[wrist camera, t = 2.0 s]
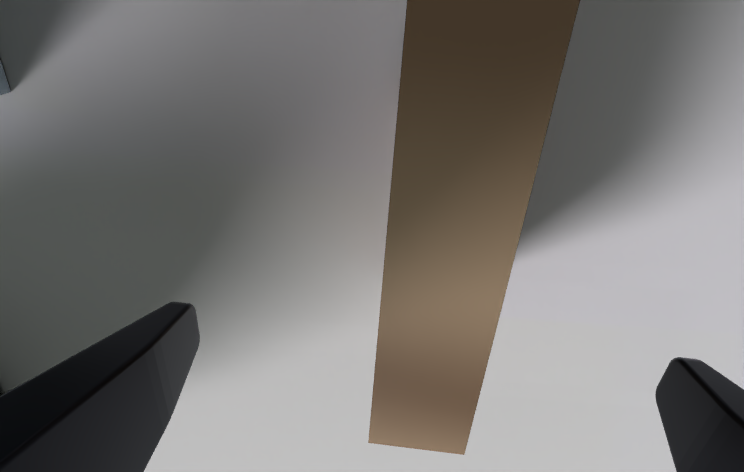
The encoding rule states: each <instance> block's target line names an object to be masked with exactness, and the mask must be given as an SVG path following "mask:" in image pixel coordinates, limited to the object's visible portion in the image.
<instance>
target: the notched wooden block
mask: <svg viewBox="0 0 744 472" xmlns="http://www.w3.org/2000/svg"><path fill="white" fill-rule="evenodd" d="M579 2H580V0H407V10H406V21H405V33H404V44H403V55H402V67H401V78H400V89H399V101H398V112H397V124H396V135H395V146H394V158H393V169H392V180H391V192H390V203H389V214H388V226H387V237H386V249H385V260H384V271H383V283H382V294H381V305H380V317H379V328H378V339H377V351H376V362H375V373H374V385H373V396H372V408H371V419H370V430H369V442H368V443H374V444H382V445H390V446H398V447H406V448H414V449H422V450H430V451H439V452H447V453H455V454H463V455H464V454H465V450H466V446H467V442H468V438H469V434H470V430H471V426H472V422H473V418H474V414H475V410H476V406H477V403H478V399H479V395H480V391H481V387H482V383H483V379H484V375H485V371H486V367H487V363H488V359H489V355H490V351H491V348H492V344H493V340H494V336H495V332H496V328H497V324H498V320H499V316H500V312H501V308H502V304H503V300H504V297H505V293H506V289H507V285H508V281H509V277H510V273H511V269H512V265H513V261H514V257H515V253H516V249H517V245H518V242H519V238H520V234H521V230H522V226H523V222H524V218H525V214H526V210H527V206H528V202H529V198H530V194H531V191H532V187H533V183H534V179H535V175H536V171H537V167H538V163H539V159H540V155H541V151H542V147H543V143H544V139H545V136H546V132H547V128H548V124H549V120H550V116H551V112H552V108H553V104H554V100H555V96H556V92H557V88H558V84H559V81H560V77H561V73H562V69H563V65H564V61H565V57H566V53H567V49H568V45H569V41H570V37H571V33H572V30H573V26H574V22H575V18H576V14H577V10H578V6H579Z"/></svg>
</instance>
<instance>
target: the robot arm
mask: <svg viewBox="0 0 744 472" xmlns="http://www.w3.org/2000/svg"><path fill="white" fill-rule="evenodd" d="M199 341H200V335H199V329H198V323H197V317H196V311H195V308H194V306H193V305H192V304H190V303H182V302H170V303H168V304H166V305H164V306H162V307H161V308H159V309H157V310H155V311H153V312H152V313H150V314H148V315H146V316H144V317H143V318H141V319H139V320H137V321H135V322H134V323H132V324H130V325H128V326H126V327H125V328H123V329H121V330H119V331H117V332H115V333H114V334H112V335H110V336H108V337H106V338H105V339H103V340H101V341H99V342H97V343H96V344H94V345H92V346H90V347H88V348H87V349H85V350H83V351H81V352H79V353H78V354H76V355H74V356H72V357H70V358H69V359H67V360H65V361H63V362H61V363H59V364H58V365H56V366H54V367H52V368H50V369H49V370H47V371H45V372H43V373H41V374H40V375H38V376H36V377H34V378H32V379H31V380H29V381H27V382H25V383H23V384H22V385H20V386H18V387H16V388H14V389H13V390H11V391H9V392H7V393H5V394H3V395H2V396H1V395H0V472H144V470H145V468H146V466H147V464H148V462H149V460H150V458H151V456H152V454H153V452H154V450H155V448H156V447H157V445H158V443H159V441H160V439H161V437H162V435H163V433H164V431H165V429H166V427H167V425H168V423H169V421H170V419H171V416H172V414H173V411H174V409H175V406H176V404H177V401H178V399H179V396H180V393H181V391H182V388H183V386H184V383H185V380H186V378H187V375H188V373H189V370H190V368H191V365H192V362H193V360H194V357H195V355H196V352H197V349H198V346H199ZM656 402H657V406H658V409H659V413H660V416H661V420H662V423H663V427H664V430H665V433H666V437H667V440H668V444H669V447H670V451H671V454H672V458H673V461H674V464H675V468H676V471H677V472H744V390H743V389H742V388H740V387H739V386H738V385H736V384H735V383H733V382H732V381H730V380H729V379H727V378H726V377H724V376H723V375H722V374H720V373H719V372H717V371H716V370H714V369H713V368H711V367H710V366H708V365H707V364H706V363H704V362H702V361H700V360H697V359H690V358H681V357H678V358H674V359H673V360H671V362H670V363H669V365H668V367H667V369H666V371H665V373H664V375H663V377H662V378H661V380H660V382H659V384H658V386H657V389H656Z"/></svg>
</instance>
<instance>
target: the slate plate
mask: <svg viewBox="0 0 744 472" xmlns="http://www.w3.org/2000/svg"><path fill="white" fill-rule="evenodd" d="M9 92H11V91H10V88H9V85H8V82H7V79H6V76H5V73H4V69H3V66H2V63H1V60H0V95H2V94H6V93H9Z"/></svg>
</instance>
